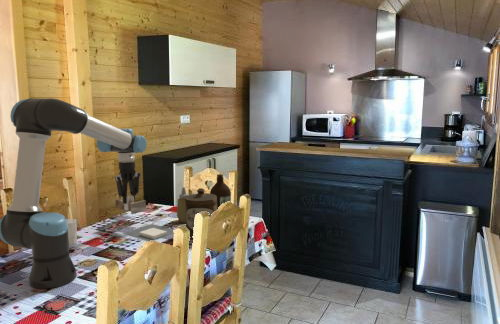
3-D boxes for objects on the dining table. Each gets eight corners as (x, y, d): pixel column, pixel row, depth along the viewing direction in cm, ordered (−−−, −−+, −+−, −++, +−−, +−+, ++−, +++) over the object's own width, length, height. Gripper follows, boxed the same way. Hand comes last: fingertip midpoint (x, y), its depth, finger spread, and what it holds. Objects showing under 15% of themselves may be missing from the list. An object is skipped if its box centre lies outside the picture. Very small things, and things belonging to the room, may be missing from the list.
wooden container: (183, 239, 189) (181, 192, 186) (189, 229, 204) (188, 185, 201) (216, 239, 189) (215, 192, 185) (220, 229, 203) (218, 185, 200)
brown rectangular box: (110, 208, 206) (110, 198, 205) (124, 205, 212) (124, 195, 211) (132, 214, 196) (131, 203, 195) (146, 210, 202) (145, 200, 201)
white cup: (55, 244, 185) (53, 222, 184) (70, 239, 192) (68, 218, 191) (67, 247, 182) (65, 224, 180) (82, 241, 189) (80, 220, 187)
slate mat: (150, 242, 186) (149, 241, 186) (122, 234, 198) (122, 233, 197) (179, 232, 200) (179, 231, 200) (152, 225, 212) (152, 224, 212)
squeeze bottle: (175, 220, 219) (173, 186, 217) (190, 218, 223) (188, 185, 220) (179, 224, 212) (178, 189, 209) (194, 222, 215) (193, 188, 213)
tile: (139, 235, 194) (153, 239, 189) (139, 232, 194) (153, 236, 188) (153, 230, 201) (167, 234, 195) (152, 227, 201) (167, 231, 195)
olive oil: (206, 222, 215) (205, 174, 211) (222, 218, 222) (221, 172, 218) (219, 227, 207) (218, 177, 203) (235, 222, 214) (234, 174, 210)
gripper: (117, 163, 191) (120, 214, 195) (145, 159, 204) (147, 206, 207) (107, 162, 196) (111, 211, 199) (135, 158, 208) (137, 204, 212)
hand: (129, 209), depth 203 cm, fingers closed on brown rectangular box, 2 cm apart
